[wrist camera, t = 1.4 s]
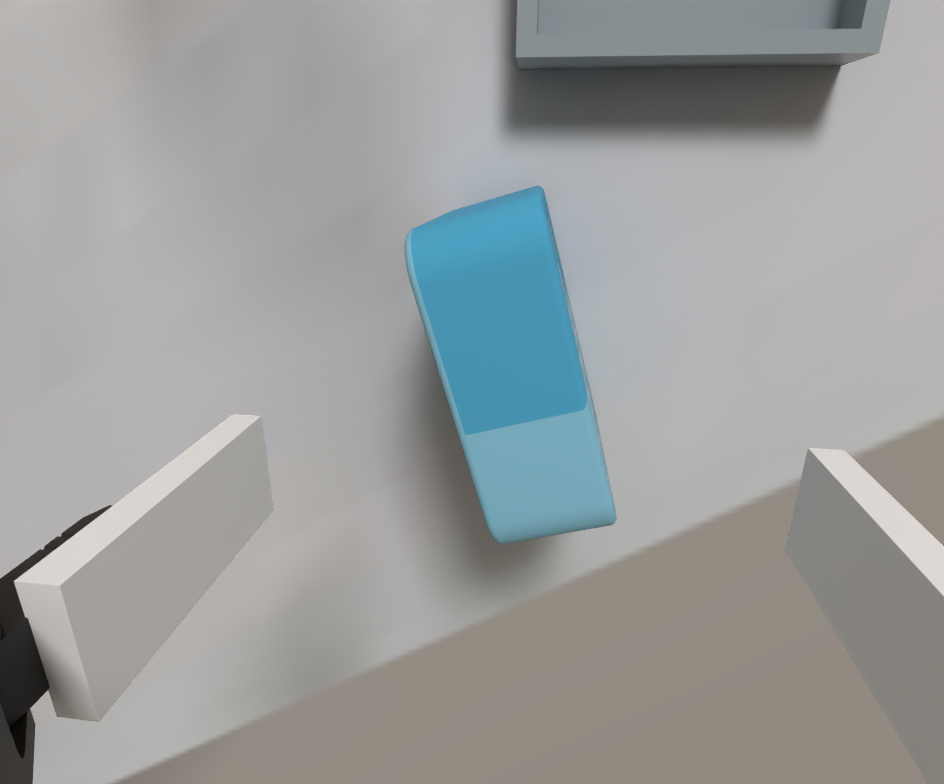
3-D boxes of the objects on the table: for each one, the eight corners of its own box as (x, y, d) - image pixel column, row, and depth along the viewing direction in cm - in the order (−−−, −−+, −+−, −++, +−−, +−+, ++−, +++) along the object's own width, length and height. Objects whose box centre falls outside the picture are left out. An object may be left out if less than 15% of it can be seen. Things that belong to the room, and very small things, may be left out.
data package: (595, 411, 32) (621, 543, 21) (513, 429, 33) (497, 563, 22) (542, 183, 28) (540, 193, 17) (451, 210, 29) (393, 236, 18)
